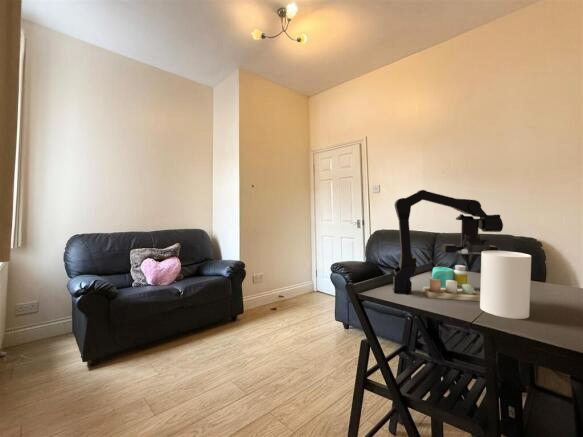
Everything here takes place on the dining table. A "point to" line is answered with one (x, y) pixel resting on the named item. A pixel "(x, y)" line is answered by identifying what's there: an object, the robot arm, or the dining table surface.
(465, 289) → the button sage
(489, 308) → the canister
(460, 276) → the supplement bottle
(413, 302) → the dining table surface
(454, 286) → the button cream
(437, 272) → the turquoise rounded piece
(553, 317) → the dining table surface
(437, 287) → the button terracotta
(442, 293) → the three-slot wooden rack
